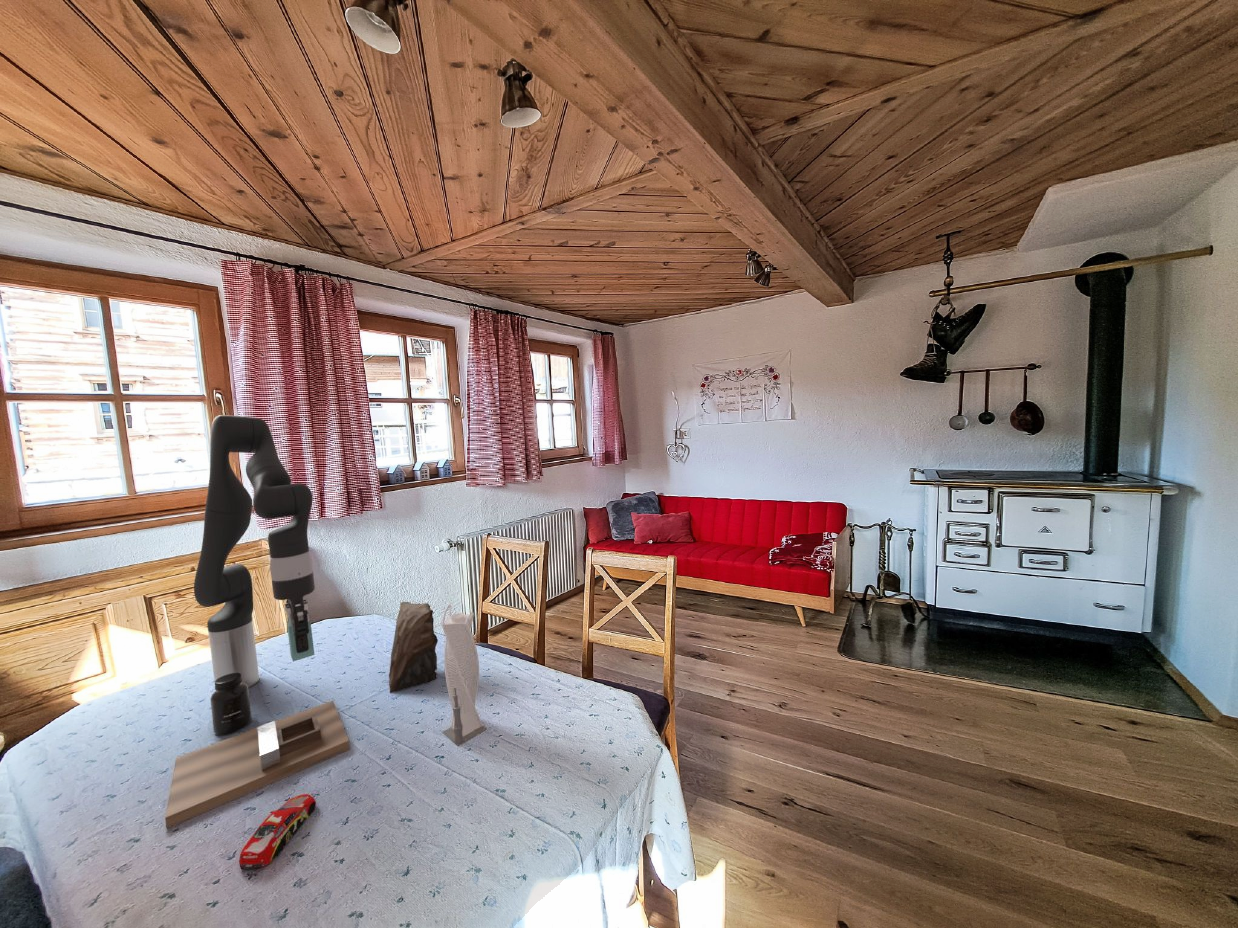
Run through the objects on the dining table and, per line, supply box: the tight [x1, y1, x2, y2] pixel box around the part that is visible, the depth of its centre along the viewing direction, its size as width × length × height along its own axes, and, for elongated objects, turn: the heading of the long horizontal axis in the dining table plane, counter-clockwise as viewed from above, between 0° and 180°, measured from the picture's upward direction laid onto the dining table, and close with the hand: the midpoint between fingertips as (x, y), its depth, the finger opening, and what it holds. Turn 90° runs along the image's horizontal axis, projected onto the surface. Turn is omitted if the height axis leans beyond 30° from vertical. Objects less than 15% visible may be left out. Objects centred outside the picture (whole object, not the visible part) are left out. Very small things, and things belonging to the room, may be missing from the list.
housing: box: [164, 700, 350, 829], centre depth 96 cm, size 20×28×4 cm
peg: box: [286, 616, 315, 662], centre depth 102 cm, size 4×4×8 cm
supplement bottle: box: [210, 673, 252, 736], centre depth 107 cm, size 7×7×12 cm
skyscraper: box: [441, 604, 488, 747], centre depth 101 cm, size 8×8×28 cm
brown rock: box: [388, 601, 439, 694], centre depth 124 cm, size 13×13×20 cm
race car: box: [238, 793, 317, 870], centre depth 77 cm, size 13×5×4 cm, turn 179°
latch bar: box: [256, 720, 281, 770], centre depth 95 cm, size 12×3×3 cm, turn 40°
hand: (301, 647), depth 102 cm, fingers closed on peg, 4 cm apart
